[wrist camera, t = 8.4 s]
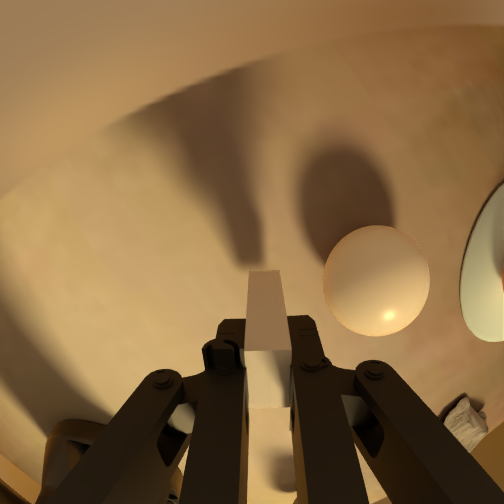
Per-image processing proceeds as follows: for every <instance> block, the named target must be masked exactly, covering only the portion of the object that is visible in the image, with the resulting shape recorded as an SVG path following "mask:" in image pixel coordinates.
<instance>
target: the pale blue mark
mask: <svg viewBox="0 0 504 504" xmlns="http://www.w3.org/2000/svg"><path fill="white" fill-rule="evenodd" d="M503 269H504V183H503V184H502V185H501V186H500V187H499V188H498V189H497V190H496V191H495V192H494V194H493V195H492V196H491V197H490V199H489V201H488V202H487V204H486V205H485V207H484V208H483V210H482V212H481V214H480V216H479V218H478V220H477V222H476V224H475V226H474V229H473V231H472V234H471V236H470V239H469V242H468V245H467V248H466V252H465V256H464V260H463V265H462V270H461V278H460V306H461V310H462V315H463V318H464V320H465V323H466V324H467V326H468V328H469V329H470V330H471V331H472V332H473V334H474V335H475V336H477V337H478V338H480V339H482V340H485V341H490V342H498V341H503V340H504V291H503V285H502V275H503Z"/></svg>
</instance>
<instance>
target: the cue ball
mask: <svg viewBox="0 0 504 504" xmlns="http://www.w3.org/2000/svg"><path fill="white" fill-rule="evenodd" d="M429 286H430V274H429V267H428V264H427V260H426V258H425V256H424V254H423V252H422V250H421V249H420V247H419V246H418V245H417V243H416V242H415V241H414V240H413V239H412V238H411V237H409V236H408V235H406V234H405V233H403V232H402V231H400V230H398V229H395V228H392V227H388V226H383V225H373V226H366V227H362V228H359V229H357V230H354V231H353V232H351V233H349V234H348V235H346V236H345V237H343V238H342V239H341V240H340V241H339V242H338V243H337V245H336V246H335V247H334V248H333V250H332V252H331V253H330V255H329V257H328V259H327V261H326V264H325V268H324V273H323V291H324V295H325V299H326V302H327V304H328V307H329V308H330V310H331V312H332V313H333V315H334V316H335V317H336V319H337V320H338V321H339V322H340V323H341V324H343V325H344V326H345V327H347V328H348V329H350V330H352V331H354V332H356V333H359V334H362V335H367V336H384V335H389V334H392V333H395V332H397V331H399V330H401V329H403V328H404V327H406V326H407V325H408V324H410V323H411V322H412V321H413V320H414V319H415V318H416V317H417V315H418V314H419V313H420V311H421V310H422V308H423V306H424V304H425V302H426V299H427V296H428V292H429Z"/></svg>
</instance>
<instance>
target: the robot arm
mask: <svg viewBox="0 0 504 504" xmlns="http://www.w3.org/2000/svg"><path fill="white" fill-rule="evenodd" d="M202 354H203V360H204V366H205V371H203V372H201V373H199V374H197V375H193V376H189V377H184V378H182V377H181V375H180V374H179V373H178V372H177V371H174V370H171V369H161V370H156V371H154V372H151V373H150V374H149V375H147V376H146V377H145V378H144V380H143V381H142V382H141V383H140V385H139V386H138V387H137V388H136V390H135V391H134V392H133V393H132V395H131V396H130V397H129V398H128V400H127V401H126V402H125V403H124V405H123V406H122V407H121V408H120V410H119V411H118V412H117V413H116V415H115V416H114V417H113V418H112V420H111V421H110V422H109V423H108V425H107V426H103V425H100V424H96V423H93V422H88V421H82V420H66V421H62V422H60V423H58V424H57V425H56V426H55V427H54V429H53V431H52V432H51V434H50V436H49V438H48V439H47V442H46V446H45V454H44V463H43V473H42V486H41V492H40V494H39V496H38V498H37V501H36V503H35V504H247V481H248V445H249V411H248V409H256V408H283V407H291V410H290V430H291V432H292V443H293V454H294V465H295V477H296V489H297V501H298V504H369V500H368V496H367V492H366V488H365V484H364V480H363V476H362V472H361V468H360V464H359V460H358V456H357V452H356V448H355V444H356V446H357V448H358V449H359V451H360V453H361V454H362V456H363V457H364V459H365V461H366V462H367V464H368V465H369V467H370V469H371V470H372V472H373V474H374V475H375V477H376V478H377V480H378V482H379V483H380V485H381V486H382V488H383V490H384V491H385V493H386V494H387V496H388V498H389V499H390V501H391V502H392V504H504V492H503V491H502V490H501V489H500V488H499V486H498V485H497V484H496V483H495V482H494V481H493V480H492V478H491V477H490V476H489V475H488V474H487V472H485V470H484V469H483V468H482V467H481V466H480V464H479V463H478V462H477V461H476V460H475V459H474V458H473V456H472V455H471V454H470V453H469V452H468V451H467V450H466V449H465V447H464V446H463V445H462V444H461V443H460V442H459V441H458V439H457V438H456V437H455V436H454V435H453V434H452V433H451V432H450V431H449V429H448V428H447V427H446V426H445V425H444V424H443V423H442V422H441V421H440V419H439V418H438V417H437V416H436V415H435V414H434V413H433V412H432V411H431V409H430V408H429V407H428V406H427V405H426V404H425V403H424V402H423V401H422V400H421V398H420V397H419V396H418V395H417V394H416V393H415V392H414V391H413V390H412V389H411V388H410V386H409V385H408V384H407V383H406V382H405V381H404V380H403V379H402V378H401V377H400V376H399V375H398V373H397V372H396V371H395V370H394V369H393V368H392V367H391V366H390V365H388V364H387V363H385V362H382V361H379V360H368V361H364V362H362V363H360V364H359V365H358V366H357V367H356V370H349V369H342V368H338V367H336V366H333V365H332V363H331V362H330V360H329V359H328V358H327V357H325V355H324V351H323V348H322V344H321V341H320V337H319V334H318V331H317V327H316V324H315V321H314V320H313V319H312V318H311V317H310V316H309V315H299V316H287V315H286V309H285V303H284V296H283V290H282V284H281V278H280V272H279V270H272V271H249V280H248V296H247V312H246V319H224V320H223V321H222V322H221V323H220V324H219V325H218V329H217V334H216V339H213V340H210V341H209V342H207V343H206V344H204V346H203V348H202ZM290 430H289V431H290ZM354 443H355V444H354ZM189 444H190V445H189ZM188 446H189V450H188V455H187V460H186V465H185V471H184V476H183V475H182V474H181V472H180V470H179V469H178V468H177V466H178V465H179V463H180V461H181V459H182V457H183V455H184V453H185V452H186V450H187V448H188ZM0 504H31V503H30V502H28V501H27V500H26V499H25V498H23V497H22V496H21V495H19V494H18V493H17V492H15V490H13V489H12V488H11V487H10V486H9V485H7V484H6V483H5V482H4V481H3V480H2V479H0Z"/></svg>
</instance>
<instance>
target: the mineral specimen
mask: <svg viewBox="0 0 504 504" xmlns="http://www.w3.org/2000/svg"><path fill="white" fill-rule="evenodd" d="M486 420H487V416H486V414H485V412H483V411H481V412H478V413H477V412H476V411H475V410H474V409H473V408H472V407H471V406H470V402H469V399H468V398H467V397H464V398H463V399H461V400H460V401H459V403H458V404H457V406H456V407H455V408H454V409H453V410H452V411H450V412H449V414H448V416H447V417H446V419H445V421H444V423H443V424H444V425H445V426H446V427H447V428H448V429H449V431H450V432H451V433H452V434H453V435H454V436H455V437H456V438H457V439H458V441H459V442H460V443H461V444H462V445H463V446H464V447H465V449H466V450H467V451H468V452H469V453H470V452H471V451H472V450H473V449H474V448H475V447H476V445H477V444H478V443H479V441H480V440H481V439H482V438H484V436H485V435H486V434H487V433H488V427H487V424H486Z"/></svg>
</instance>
